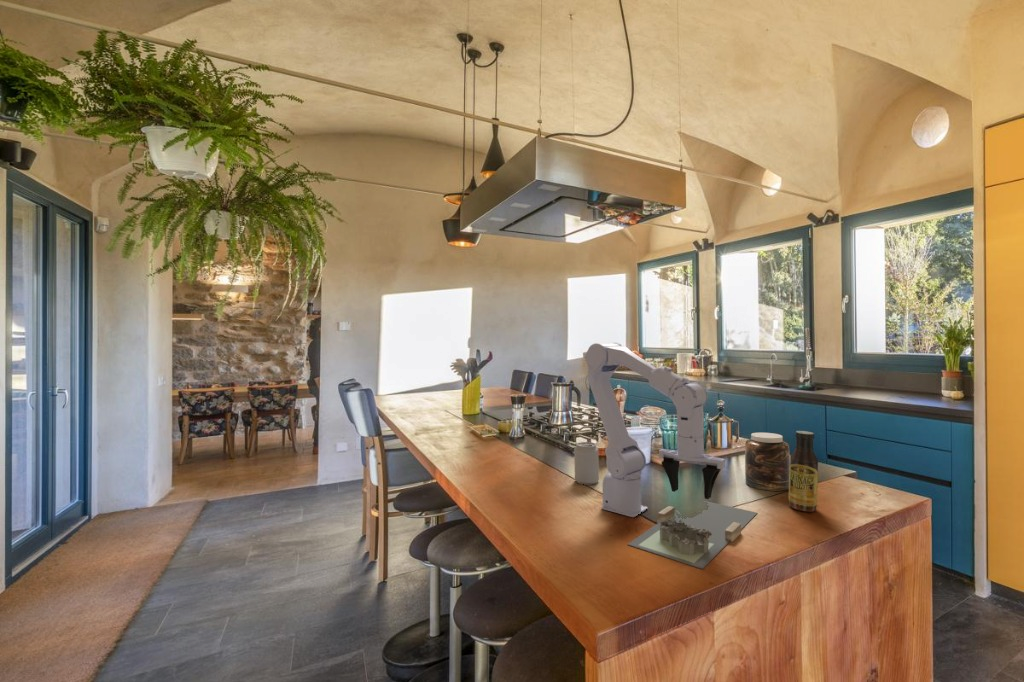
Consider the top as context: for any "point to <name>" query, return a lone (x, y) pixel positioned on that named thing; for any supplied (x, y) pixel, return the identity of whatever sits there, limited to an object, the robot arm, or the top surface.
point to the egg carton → (677, 533)
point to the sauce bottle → (803, 474)
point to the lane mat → (709, 520)
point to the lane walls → (730, 532)
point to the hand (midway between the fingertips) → (690, 494)
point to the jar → (767, 462)
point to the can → (586, 463)
